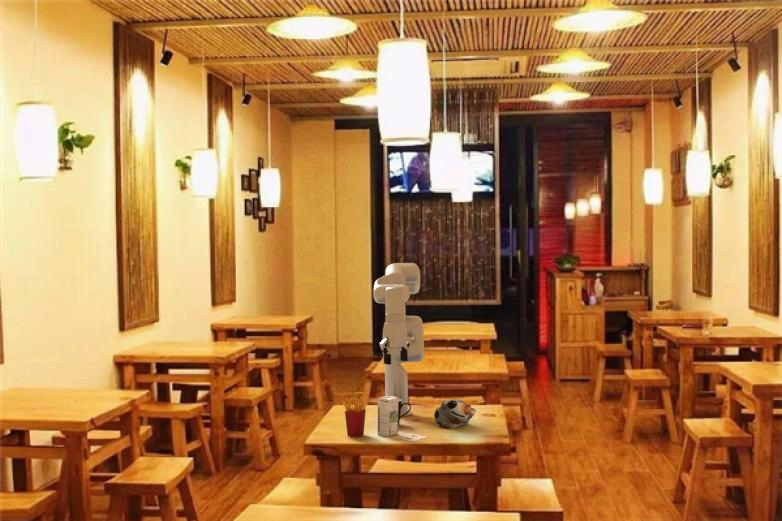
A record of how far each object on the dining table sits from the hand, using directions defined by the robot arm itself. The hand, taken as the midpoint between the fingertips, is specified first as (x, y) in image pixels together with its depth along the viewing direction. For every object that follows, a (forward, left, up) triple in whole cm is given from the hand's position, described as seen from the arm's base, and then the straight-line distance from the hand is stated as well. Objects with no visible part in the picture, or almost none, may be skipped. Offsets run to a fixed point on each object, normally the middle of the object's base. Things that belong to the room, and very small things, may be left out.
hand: (395, 362), depth 346 cm
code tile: (+10, -3, -27) cm, 29 cm away
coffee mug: (-9, +10, -28) cm, 31 cm away
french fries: (-10, -13, -28) cm, 32 cm away
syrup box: (0, -4, -28) cm, 28 cm away
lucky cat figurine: (+11, +24, -28) cm, 38 cm away
